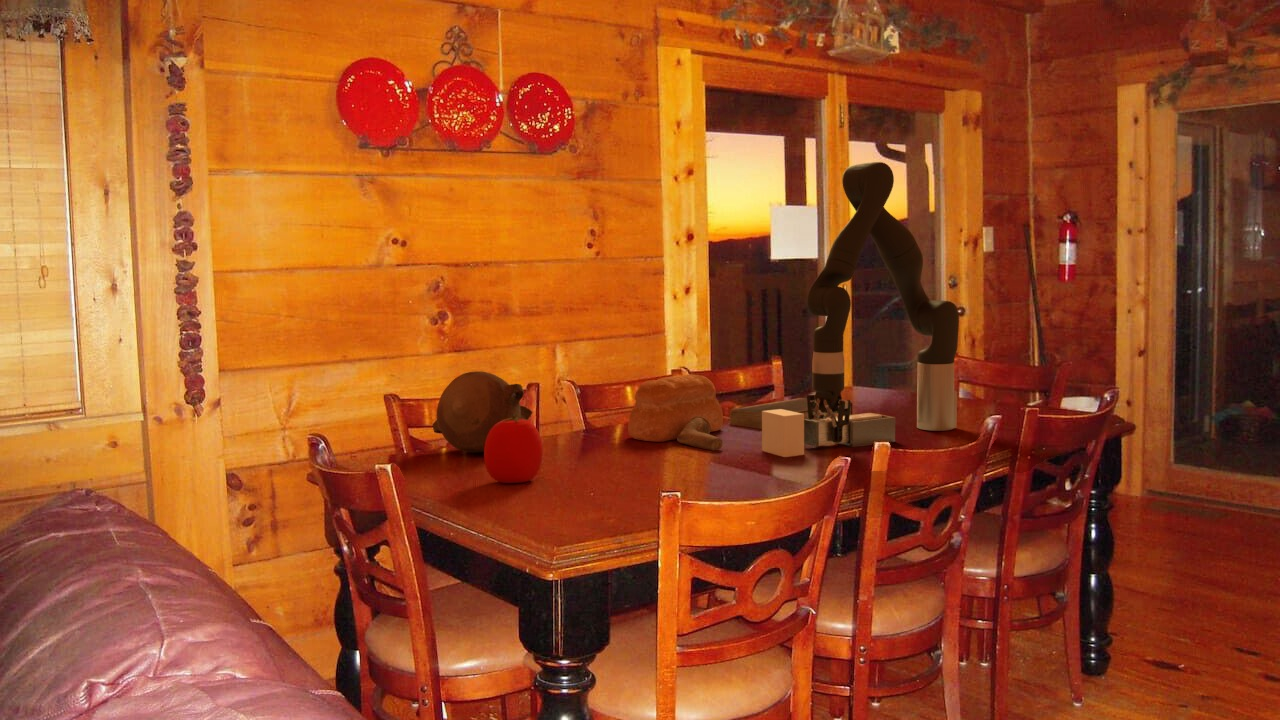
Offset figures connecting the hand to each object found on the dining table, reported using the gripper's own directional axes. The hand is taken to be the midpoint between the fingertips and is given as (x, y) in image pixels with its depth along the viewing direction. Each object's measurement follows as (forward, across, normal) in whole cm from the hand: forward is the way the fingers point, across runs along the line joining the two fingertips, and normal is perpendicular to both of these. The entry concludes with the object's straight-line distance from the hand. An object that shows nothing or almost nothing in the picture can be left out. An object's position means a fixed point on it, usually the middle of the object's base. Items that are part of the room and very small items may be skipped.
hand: (828, 439), depth 255 cm
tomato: (+2, +5, +78) cm, 78 cm away
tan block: (+2, 0, +13) cm, 13 cm away
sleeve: (+2, 0, -10) cm, 11 cm away
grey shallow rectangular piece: (+2, +35, -14) cm, 38 cm away
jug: (+2, +44, +69) cm, 82 cm away
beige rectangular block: (+2, 0, -4) cm, 5 cm away
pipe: (+2, +19, +23) cm, 30 cm away
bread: (+2, +35, +22) cm, 41 cm away
